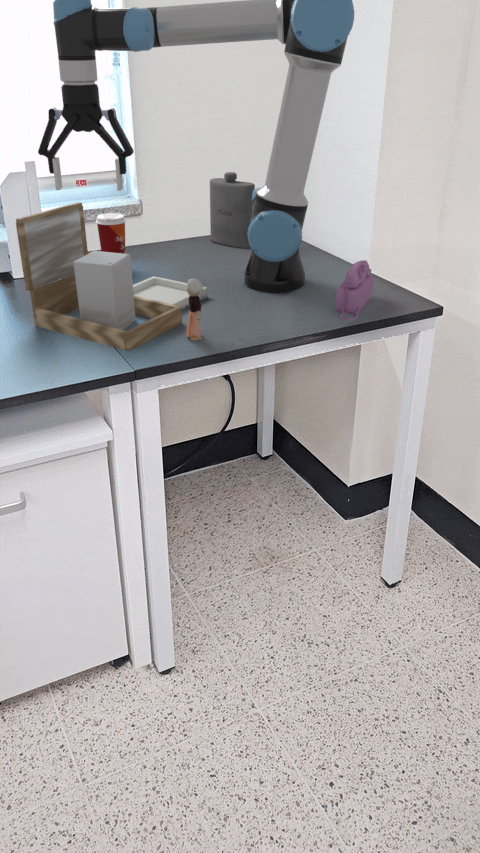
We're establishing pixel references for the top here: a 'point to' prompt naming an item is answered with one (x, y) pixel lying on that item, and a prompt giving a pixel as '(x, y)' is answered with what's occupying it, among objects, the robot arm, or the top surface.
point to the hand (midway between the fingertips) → (89, 189)
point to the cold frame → (53, 259)
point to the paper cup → (111, 232)
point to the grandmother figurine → (194, 309)
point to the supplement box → (105, 288)
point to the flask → (230, 210)
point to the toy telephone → (355, 290)
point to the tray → (166, 291)
